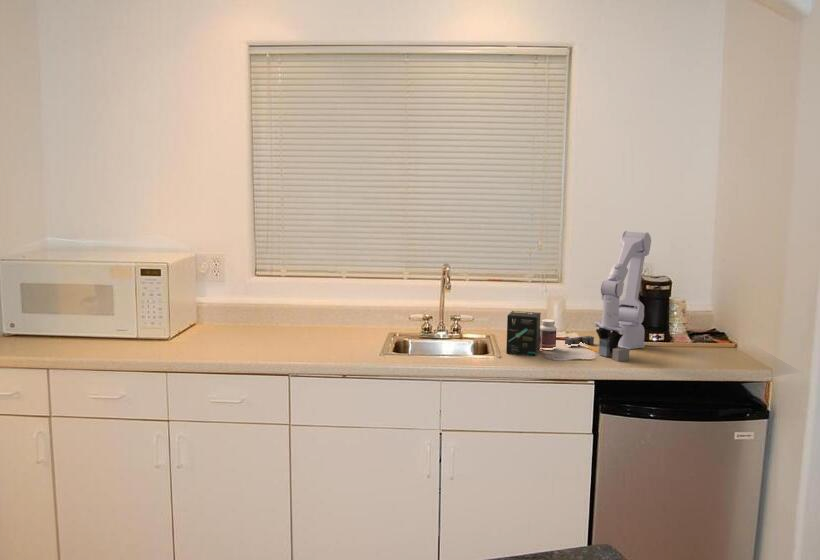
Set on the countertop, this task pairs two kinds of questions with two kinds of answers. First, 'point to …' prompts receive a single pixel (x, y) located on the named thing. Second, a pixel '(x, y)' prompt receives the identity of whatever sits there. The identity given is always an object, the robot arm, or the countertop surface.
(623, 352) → the hammer
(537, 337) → the tampon box
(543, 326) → the pill bottle
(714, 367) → the countertop surface
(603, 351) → the sleeve
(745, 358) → the countertop surface
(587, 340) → the comb
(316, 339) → the countertop surface
